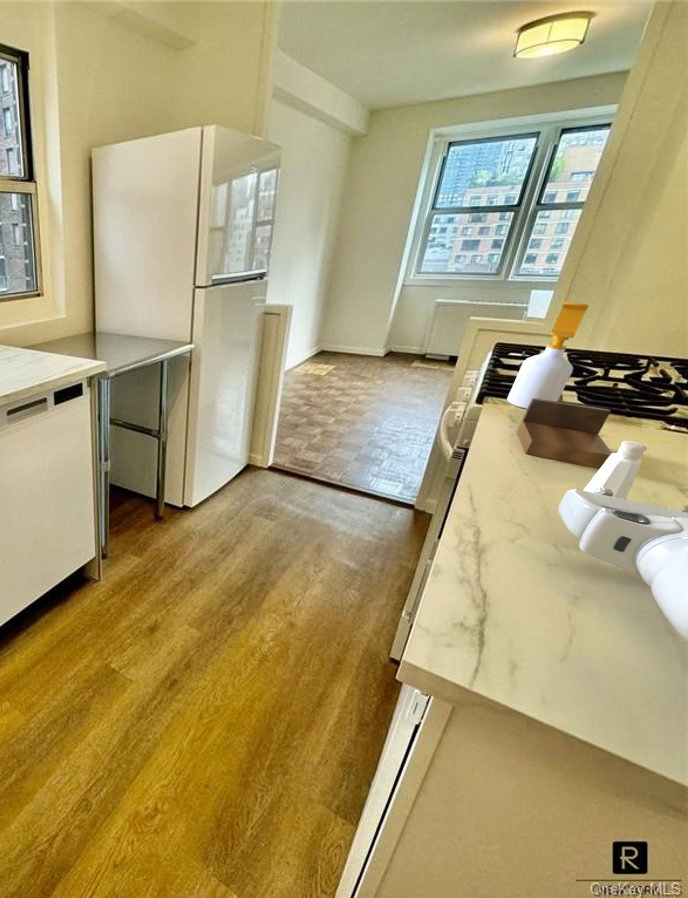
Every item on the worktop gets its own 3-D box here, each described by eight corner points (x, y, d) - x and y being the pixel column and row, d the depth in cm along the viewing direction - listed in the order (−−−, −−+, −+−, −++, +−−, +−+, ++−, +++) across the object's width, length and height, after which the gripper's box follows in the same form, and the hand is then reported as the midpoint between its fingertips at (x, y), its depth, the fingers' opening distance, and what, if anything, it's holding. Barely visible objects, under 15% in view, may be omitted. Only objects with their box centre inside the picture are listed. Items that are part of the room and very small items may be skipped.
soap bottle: (503, 404, 119) (548, 302, 107) (509, 395, 124) (552, 297, 113) (551, 415, 113) (604, 308, 102) (555, 404, 119) (605, 302, 107)
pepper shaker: (629, 514, 78) (667, 455, 73) (585, 506, 80) (620, 448, 75) (613, 497, 82) (649, 440, 77) (573, 490, 84) (605, 434, 79)
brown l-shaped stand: (589, 444, 100) (609, 409, 96) (606, 469, 91) (628, 431, 87) (516, 431, 105) (532, 397, 101) (525, 453, 96) (543, 417, 92)
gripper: (833, 565, 53) (765, 504, 64) (587, 509, 63) (563, 464, 73) (793, 606, 56) (735, 541, 67) (564, 547, 66) (545, 498, 76)
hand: (644, 500), depth 70 cm, fingers open, 8 cm apart
